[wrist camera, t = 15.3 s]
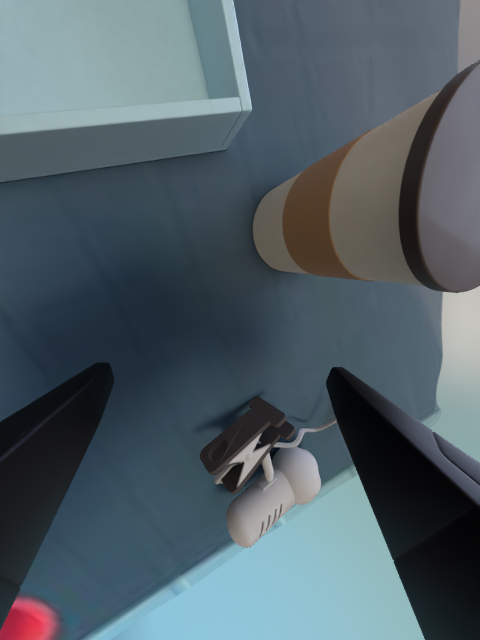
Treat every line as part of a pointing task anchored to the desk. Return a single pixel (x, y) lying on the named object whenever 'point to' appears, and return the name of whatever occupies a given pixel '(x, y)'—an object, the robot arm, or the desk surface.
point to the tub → (116, 83)
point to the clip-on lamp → (279, 475)
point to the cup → (388, 200)
